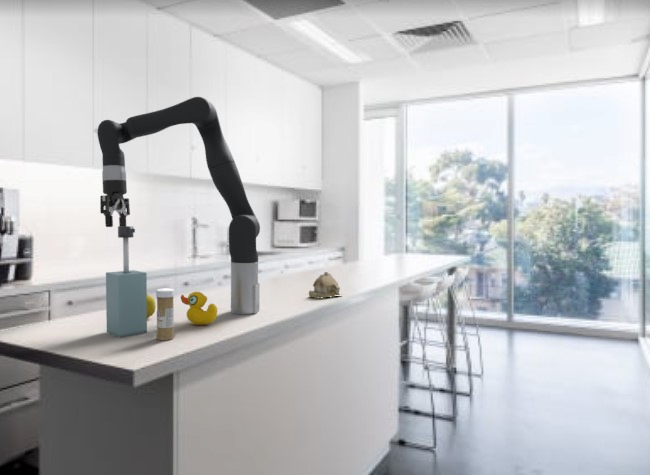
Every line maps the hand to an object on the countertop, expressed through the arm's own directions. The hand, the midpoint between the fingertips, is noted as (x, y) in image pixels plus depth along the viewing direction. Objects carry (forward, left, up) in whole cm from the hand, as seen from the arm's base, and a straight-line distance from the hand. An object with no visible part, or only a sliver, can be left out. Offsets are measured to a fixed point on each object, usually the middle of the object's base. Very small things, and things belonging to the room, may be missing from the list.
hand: (116, 227), depth 170 cm
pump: (-19, +30, -13) cm, 38 cm away
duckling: (-35, +18, -29) cm, 49 cm away
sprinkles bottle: (-31, +35, -29) cm, 55 cm away
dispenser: (-18, +30, -29) cm, 45 cm away
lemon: (-16, +13, -29) cm, 35 cm away
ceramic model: (-69, -37, -29) cm, 84 cm away
